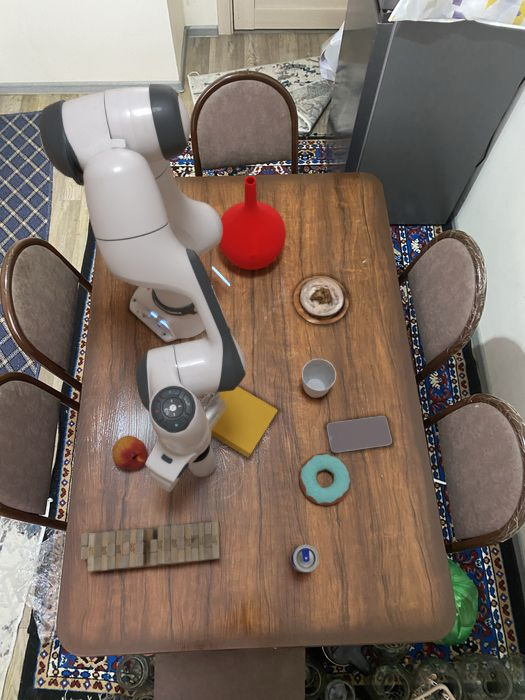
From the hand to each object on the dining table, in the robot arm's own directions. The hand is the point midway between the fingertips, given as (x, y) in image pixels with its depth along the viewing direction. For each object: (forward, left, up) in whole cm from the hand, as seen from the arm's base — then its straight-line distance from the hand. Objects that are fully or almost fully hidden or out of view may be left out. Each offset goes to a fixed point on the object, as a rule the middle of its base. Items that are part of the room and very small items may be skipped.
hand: (195, 449), depth 107 cm
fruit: (-16, -7, -19) cm, 26 cm away
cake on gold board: (+2, +54, -19) cm, 57 cm away
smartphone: (+28, +26, -19) cm, 42 cm away
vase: (-22, +57, -19) cm, 64 cm away
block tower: (+1, -21, -19) cm, 28 cm away
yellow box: (0, +14, -18) cm, 23 cm away
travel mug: (0, 0, -15) cm, 15 cm away
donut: (+26, +12, -19) cm, 34 cm away
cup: (+13, +31, -19) cm, 38 cm away
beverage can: (+30, -6, -19) cm, 36 cm away
